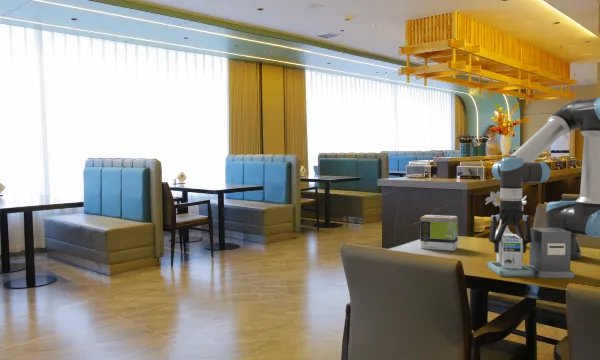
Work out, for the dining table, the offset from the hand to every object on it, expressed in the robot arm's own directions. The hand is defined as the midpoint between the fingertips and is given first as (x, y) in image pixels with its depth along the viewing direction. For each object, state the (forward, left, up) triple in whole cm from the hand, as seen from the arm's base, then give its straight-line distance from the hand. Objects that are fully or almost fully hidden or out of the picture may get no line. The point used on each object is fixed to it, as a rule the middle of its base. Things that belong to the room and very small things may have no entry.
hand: (509, 261), depth 188 cm
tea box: (+16, -44, -4) cm, 47 cm away
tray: (0, 0, -4) cm, 4 cm away
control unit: (-13, +3, -4) cm, 14 cm away
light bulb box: (0, 0, -1) cm, 1 cm away
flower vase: (-17, -55, -4) cm, 58 cm away
